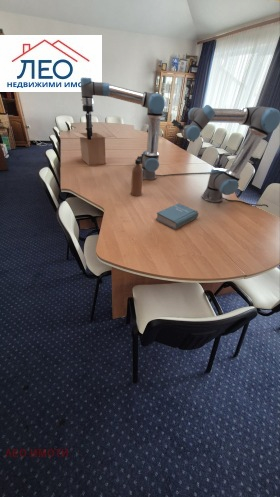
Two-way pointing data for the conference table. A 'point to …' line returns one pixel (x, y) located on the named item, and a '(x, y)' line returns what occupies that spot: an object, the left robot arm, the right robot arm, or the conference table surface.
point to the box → (93, 147)
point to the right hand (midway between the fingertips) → (181, 130)
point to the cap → (137, 161)
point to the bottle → (137, 180)
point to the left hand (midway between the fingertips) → (90, 137)
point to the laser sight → (140, 158)
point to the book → (176, 215)
